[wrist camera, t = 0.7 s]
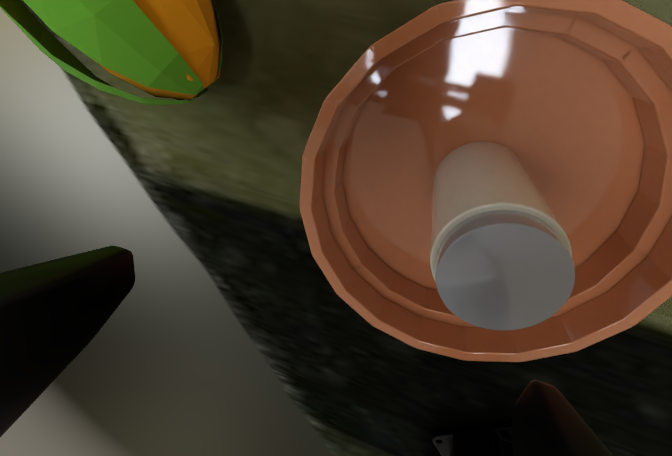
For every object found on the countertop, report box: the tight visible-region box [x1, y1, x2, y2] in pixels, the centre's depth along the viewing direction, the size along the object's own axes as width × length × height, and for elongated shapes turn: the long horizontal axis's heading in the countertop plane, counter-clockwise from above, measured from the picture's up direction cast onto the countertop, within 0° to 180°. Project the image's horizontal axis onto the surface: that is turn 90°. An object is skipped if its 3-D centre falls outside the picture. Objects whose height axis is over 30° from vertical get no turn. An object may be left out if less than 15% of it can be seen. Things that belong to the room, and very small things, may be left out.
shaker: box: [430, 142, 575, 331], centre depth 15 cm, size 4×4×8 cm
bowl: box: [299, 0, 672, 362], centre depth 18 cm, size 16×16×4 cm
